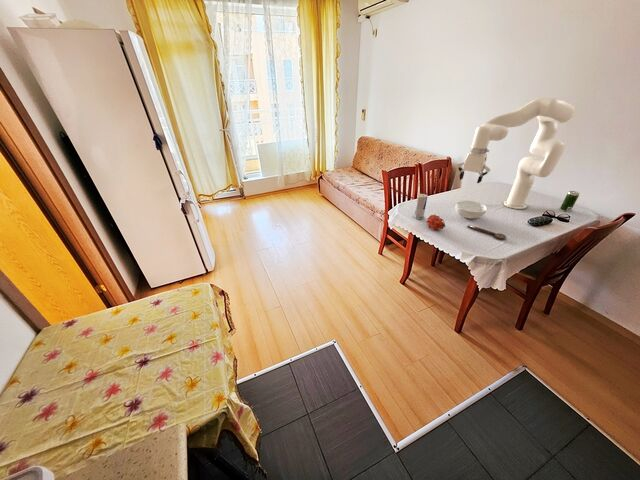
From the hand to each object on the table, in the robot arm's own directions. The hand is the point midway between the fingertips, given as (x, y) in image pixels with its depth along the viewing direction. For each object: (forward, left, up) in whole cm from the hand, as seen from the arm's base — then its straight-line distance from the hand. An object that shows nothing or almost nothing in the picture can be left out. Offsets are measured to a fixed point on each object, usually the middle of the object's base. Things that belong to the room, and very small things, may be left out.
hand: (469, 180), depth 147 cm
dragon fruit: (+25, -3, -23) cm, 34 cm away
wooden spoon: (+11, +20, -23) cm, 32 cm away
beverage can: (+19, -17, -23) cm, 35 cm away
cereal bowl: (-4, +4, -23) cm, 24 cm away
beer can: (-51, +43, -23) cm, 71 cm away
